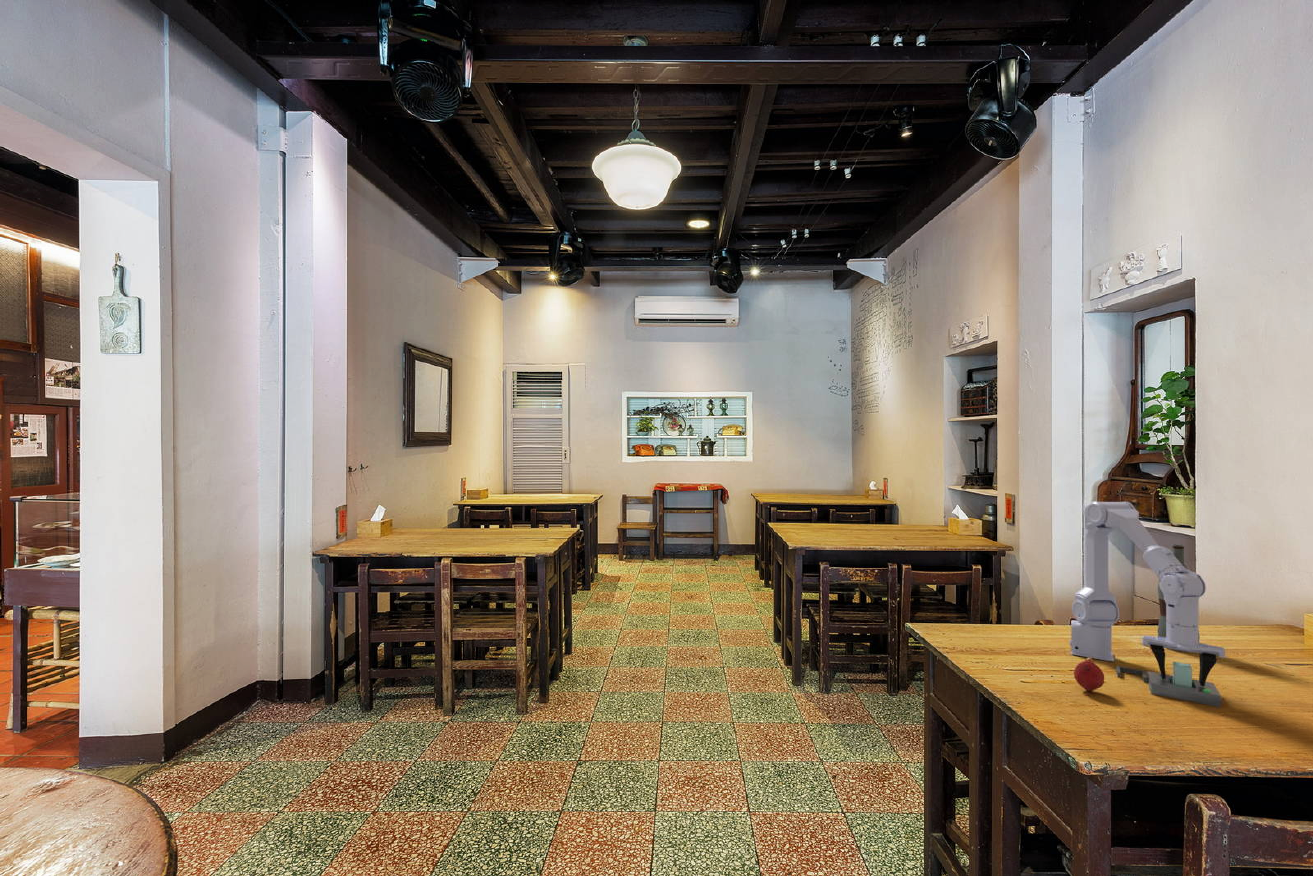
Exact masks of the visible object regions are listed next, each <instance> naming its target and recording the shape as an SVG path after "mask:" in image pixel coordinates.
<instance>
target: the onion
mask: <svg viewBox="0 0 1313 876" xmlns="http://www.w3.org/2000/svg"><path fill="white" fill-rule="evenodd" d="M1073 676H1074V679H1075V681H1076V683H1077V684H1078V685H1079V686H1080V687H1081V688H1082V689H1084V690H1085V691H1087V692H1089V693H1091V692H1094V691H1096V690H1098V689H1100V688H1102V686H1103V685H1104V683H1105V674H1104V672H1103V670H1102V669H1101V668H1100V666H1098V665H1097V664H1096V663H1095V662H1094V658H1090V657H1086V659H1085V660H1083V661H1081V662H1079V663H1078V664H1077V665H1076V666H1075V669H1074V671H1073Z"/></svg>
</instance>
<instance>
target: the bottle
mask: <svg viewBox="0 0 1313 876" xmlns="http://www.w3.org/2000/svg"><path fill="white" fill-rule="evenodd" d="M1171 546H1172V549H1171V551H1172V552H1173V555H1174V556H1175V557H1176V558H1177V560H1178V561H1179V562H1180V563H1181V564H1182V565H1183V566H1184V567H1185V568H1186V569H1188V567H1187V566H1186V565H1185V546H1184V545H1182V544H1172V545H1171ZM1159 582H1161V580H1160V579H1159V578H1158V583H1157V594H1158V595H1157V596H1158V604H1159V605H1158V606H1159V614H1160V615H1159V620H1158V623H1157V624H1158V626H1157V635H1158V636H1157V637H1165V638H1166V602H1165V600H1164V595H1163V592H1162V591H1161V589H1160V586H1159ZM1200 638H1201V637H1200V635H1199V640H1200ZM1166 649H1167V650H1171V651H1174V650H1175V652H1179V651H1181V652H1182V653H1188V651H1182V650H1176V649H1169V648H1166ZM1181 652H1180V653H1181Z"/></svg>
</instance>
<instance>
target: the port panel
mask: <svg viewBox="0 0 1313 876" xmlns="http://www.w3.org/2000/svg"><path fill="white" fill-rule="evenodd" d="M1146 672H1147V674H1146V676H1147V686H1148V688H1149V691H1150V694H1151V695H1155V696H1159V697H1160V696H1161V697H1165V698H1171V699H1175V700H1176V699H1177V700H1180V701H1186V702H1191V703H1195V704H1201V705H1206V706H1212V707H1215V708H1222V694H1220V692H1219V690H1218V689H1217V686H1216V685H1215V683H1214V682H1210V681H1206V682H1205V686H1201V685H1200V684H1199V679H1193V678H1192V687H1186V686H1181V685H1176V684H1173V675H1170V674H1166V679H1162V678H1161V673H1160V672H1155V671H1146Z"/></svg>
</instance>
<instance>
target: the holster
mask: <svg viewBox="0 0 1313 876" xmlns="http://www.w3.org/2000/svg"><path fill="white" fill-rule="evenodd" d="M1121 673H1125V674H1131V675H1135V676H1136V675H1137V676H1141V677H1142V681H1143V682H1144V683H1147V684H1148V682H1147V674H1146V671H1145V670H1143V669H1139V668H1132V667H1125V666H1120V665H1116V675H1117V678H1121V677H1122V676H1121Z"/></svg>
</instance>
